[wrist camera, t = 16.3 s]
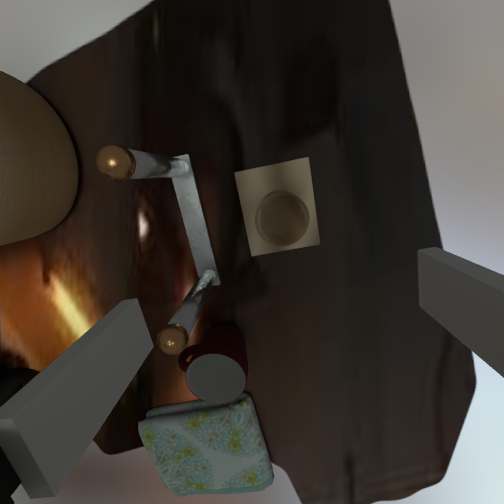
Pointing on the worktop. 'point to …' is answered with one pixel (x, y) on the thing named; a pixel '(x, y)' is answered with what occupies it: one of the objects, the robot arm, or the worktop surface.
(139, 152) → the grey piece
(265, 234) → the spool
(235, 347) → the mug
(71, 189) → the planter
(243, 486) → the towel
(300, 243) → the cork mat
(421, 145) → the worktop surface
